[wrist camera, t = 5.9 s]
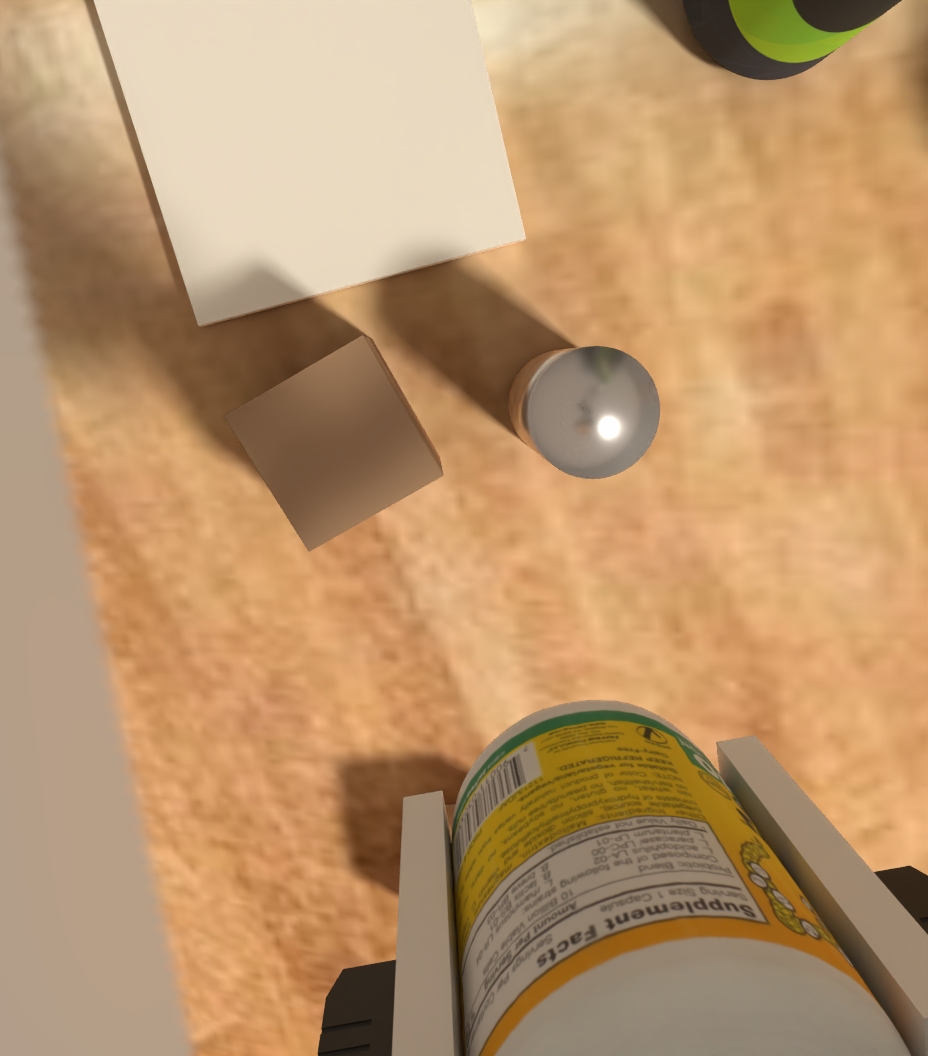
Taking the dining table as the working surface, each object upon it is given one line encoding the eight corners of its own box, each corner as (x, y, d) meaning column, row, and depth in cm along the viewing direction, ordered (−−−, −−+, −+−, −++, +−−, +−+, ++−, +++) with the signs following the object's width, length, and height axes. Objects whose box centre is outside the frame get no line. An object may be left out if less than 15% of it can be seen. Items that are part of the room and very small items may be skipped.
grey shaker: (497, 364, 30) (515, 365, 24) (600, 337, 30) (645, 331, 24) (522, 468, 31) (546, 493, 25) (623, 441, 31) (671, 460, 25)
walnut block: (256, 406, 30) (223, 416, 25) (372, 339, 29) (362, 335, 25) (326, 521, 31) (308, 551, 26) (439, 456, 30) (443, 475, 26)
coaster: (86, -37, 26) (78, -46, 26) (438, -131, 26) (438, -142, 26) (202, 326, 29) (198, 325, 28) (523, 241, 29) (525, 238, 28)
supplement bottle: (433, 712, 15) (446, 1288, 6) (711, 672, 15) (1164, 1178, 6) (469, 954, 16) (527, 1760, 7) (727, 916, 16) (1126, 1660, 7)
